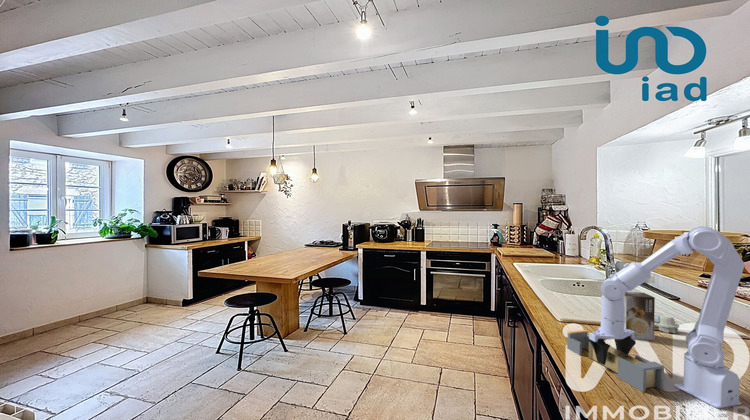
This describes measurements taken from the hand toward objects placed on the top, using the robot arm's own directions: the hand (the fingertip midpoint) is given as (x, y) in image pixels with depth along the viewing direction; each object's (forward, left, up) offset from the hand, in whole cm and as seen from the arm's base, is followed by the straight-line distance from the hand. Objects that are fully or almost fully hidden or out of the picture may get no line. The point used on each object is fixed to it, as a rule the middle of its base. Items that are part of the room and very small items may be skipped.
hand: (611, 361), depth 95 cm
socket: (+10, 0, -2) cm, 11 cm away
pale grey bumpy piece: (+27, -43, -2) cm, 51 cm away
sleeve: (-9, 0, -2) cm, 9 cm away
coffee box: (+16, -30, -2) cm, 34 cm away
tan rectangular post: (-3, 0, -2) cm, 3 cm away
